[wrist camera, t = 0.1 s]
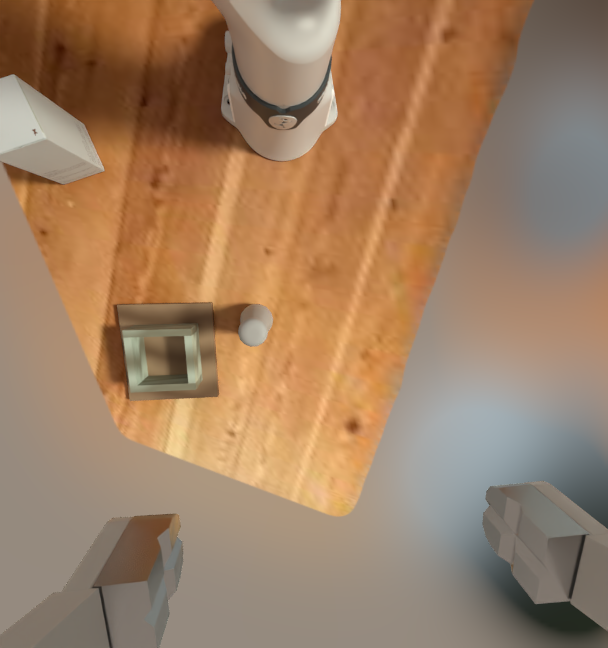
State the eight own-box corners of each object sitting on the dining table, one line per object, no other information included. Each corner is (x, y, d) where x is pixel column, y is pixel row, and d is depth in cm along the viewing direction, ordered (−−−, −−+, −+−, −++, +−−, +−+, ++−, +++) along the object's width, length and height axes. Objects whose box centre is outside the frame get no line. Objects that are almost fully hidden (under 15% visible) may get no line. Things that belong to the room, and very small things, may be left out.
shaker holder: (119, 304, 52) (101, 308, 46) (212, 302, 53) (205, 306, 48) (132, 398, 55) (117, 412, 50) (218, 394, 57) (213, 408, 51)
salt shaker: (242, 333, 55) (233, 354, 42) (240, 303, 54) (230, 315, 41) (273, 331, 55) (273, 351, 43) (272, 301, 54) (271, 313, 42)
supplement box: (85, 122, 46) (15, 71, 33) (106, 172, 47) (47, 140, 35) (39, 137, 46) (-49, 90, 33) (62, 186, 47) (-13, 158, 35)
